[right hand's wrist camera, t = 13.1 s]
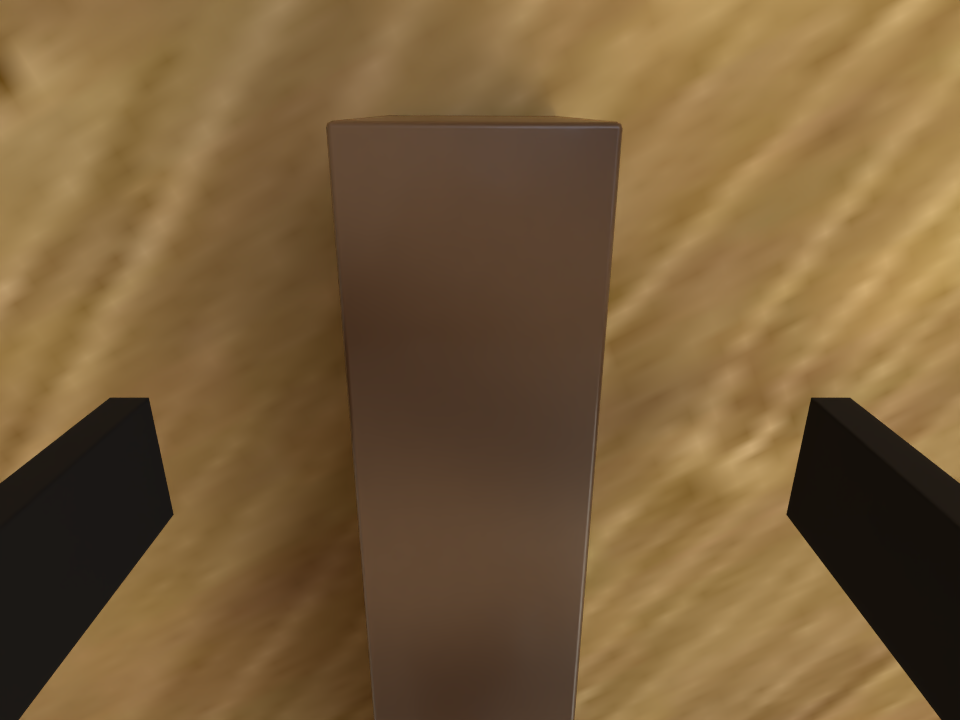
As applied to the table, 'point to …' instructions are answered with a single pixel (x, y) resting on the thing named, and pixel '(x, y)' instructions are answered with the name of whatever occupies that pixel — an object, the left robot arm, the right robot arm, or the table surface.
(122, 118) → the table surface
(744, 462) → the table surface
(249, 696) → the table surface
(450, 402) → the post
